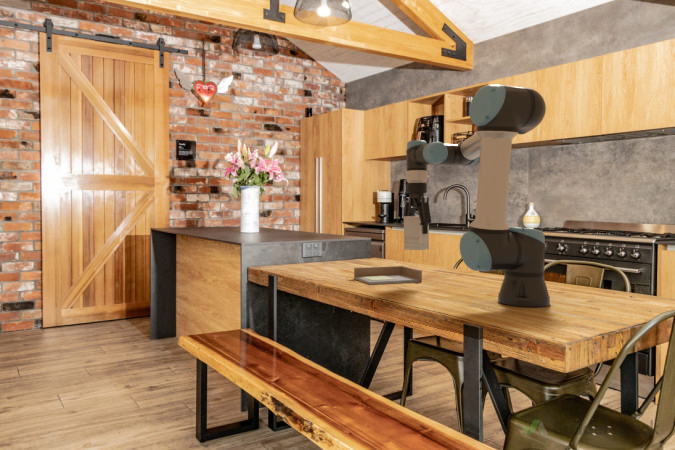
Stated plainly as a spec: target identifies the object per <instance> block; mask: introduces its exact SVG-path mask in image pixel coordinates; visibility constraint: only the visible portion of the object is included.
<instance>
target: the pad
mask: <svg viewBox="0 0 675 450" xmlns="http://www.w3.org/2000/svg"><path fill="white" fill-rule="evenodd" d="M362 278H365V279H368V280H371V281H376V280H395V279H394V278H390V277H387V276H368V277H362Z"/></svg>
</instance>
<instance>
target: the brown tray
mask: <svg viewBox="0 0 675 450" xmlns="http://www.w3.org/2000/svg"><path fill="white" fill-rule="evenodd" d="M368 276H387V277H390V278H394V279H395V280H376V281H371V280H368V279H365V278H362V277H368ZM422 276H423V272H422V270H421V269H417V268H413V267H409V266H405V265H393V266H372V267H371V266H369V267H367V266H366V267H365V266H364V267H353V279H354V280H355V279H356V280H355V281H359V282H362V283H364V284H367V285H370V286H373V285H388V284H392V283H393V284H409V283H422V282H423V277H422Z"/></svg>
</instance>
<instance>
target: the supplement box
mask: <svg viewBox="0 0 675 450" xmlns="http://www.w3.org/2000/svg"><path fill="white" fill-rule="evenodd" d="M403 216H404V215H403ZM420 223H421V221H420V217H419V215H414V216H404V222H403V245H404V246H403V250H404V251H406V250H407V251H426V250H429V249H430V237H429V236H430V229H429V228H430V223H429V224H428V233H427V243H420Z"/></svg>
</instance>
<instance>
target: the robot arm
mask: <svg viewBox="0 0 675 450" xmlns="http://www.w3.org/2000/svg"><path fill="white" fill-rule="evenodd" d="M469 106H470V107H469V118H470V121H471V123H472V124H473V125H475V126H476V133H474V134H473V135H471V136H470V137H467V139H465V140H464V141H461V143H458V144H457V143H455V144H453V143H443V142H441V141H432V142H429V143H427V141H426V140H424V139H423V140H422V139H420V140H419V139H415V140H408V142H407V143H406V150H405V153H406V156H405V157H406V176H405V177H406V182H407V183H406V193H407V194H409V197H407V196H406V197H405V198H404V208H403V209H404V211H403V218H402V222H403V223H404V216H416V215H415V213H416V211H417V214H418V216H419V217H420V221H421V223H420V243H427V233H428V224H429V225H430V224H432V216H431V211H430V210H431V209H430V201H429V200H430V198H429V196H425V195H424V194H426V193H427V191H428V189H427V188H428V184H427V183H426V182H427V178H428V174H427V173H428V166H432V165H436V166H437V165H439V166H440V165H441V166H462V167H468V166H470V167H471V166H475V165H476V164H477V162H479V165H478V177H477V190H476V191H477V193H476V203H475V204H476V206H475V217H474V220H473V221H471V223H470V224H469V229H468V231H467V232H465V233H463V235H462V237H461V238H460V240H459V253H460V256H461V260H462V261H463V262H464V264H465V266H466V267H467V268H469V269H470V270H472V271H476V272H484V273H485V272H486V273H487V272H491V271H493V272H494V271H504V272H503V273H504V274H503V275H504V277H503V280H502V283H501V286H500V289H499V292H498V294H497V301H498V303H500V304H503V305H508V306H512V307H513V306H515V307H524V308H527V307H528V308H538V307H547V306H550V305H551V303H550V302H551V297H550V295H549V291H548V288H547V283H546V281H545V262H546V261H545V254H546V242H545V241H546V239H545V234H544V232H543V231H542V230H539V229H533V228H527V227H517V226H509V224H507V222H506V217H507V216H506V215H507V204H508V191H509V182H510V181H509V180H510V179H509V178H510V167H511V156H512V143H513V139H514V138H515V137H516V136H518V135H525V134H527V133H529V132H531V131H532V130H534V129H536V128H537V127H538V126H539V125H540V124H541V123H542V121H543V119H544V118H545V116H546V113H547V112H546V110H547V106H546V102H545V99H544V96H542V94H540V93H539V92H538V91H537V90H535V89H533V88H530V87H521V86H513V85H507V84H505V85H504V84H486V85H484V86H482V87H481V88H479V89H478V90H477V92H476V93H475V94H474V96H473V98H472V99H471V102H470V105H469Z"/></svg>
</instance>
